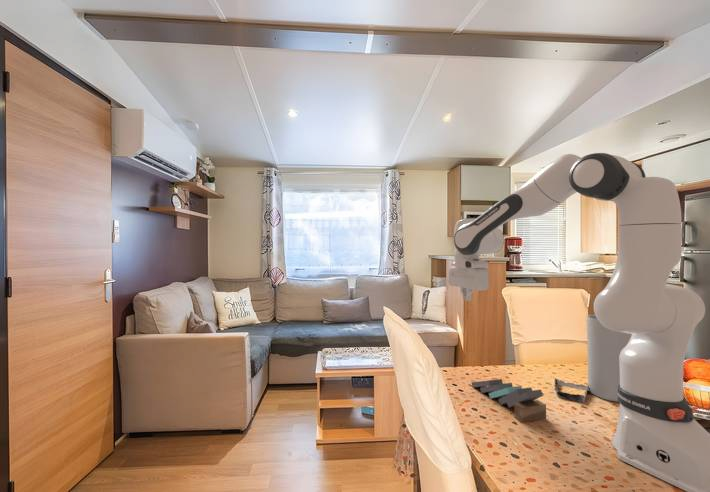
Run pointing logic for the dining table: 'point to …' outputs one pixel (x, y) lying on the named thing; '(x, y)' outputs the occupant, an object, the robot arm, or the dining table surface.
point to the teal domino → (503, 392)
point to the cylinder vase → (604, 358)
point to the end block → (530, 411)
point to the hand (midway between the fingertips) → (466, 300)
